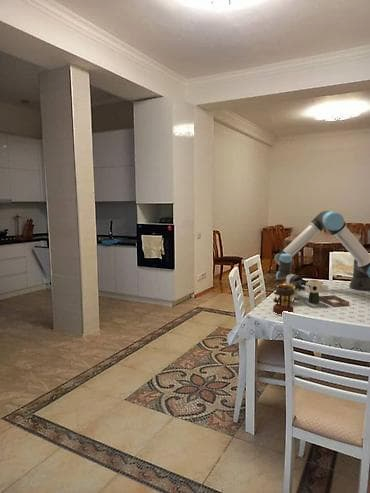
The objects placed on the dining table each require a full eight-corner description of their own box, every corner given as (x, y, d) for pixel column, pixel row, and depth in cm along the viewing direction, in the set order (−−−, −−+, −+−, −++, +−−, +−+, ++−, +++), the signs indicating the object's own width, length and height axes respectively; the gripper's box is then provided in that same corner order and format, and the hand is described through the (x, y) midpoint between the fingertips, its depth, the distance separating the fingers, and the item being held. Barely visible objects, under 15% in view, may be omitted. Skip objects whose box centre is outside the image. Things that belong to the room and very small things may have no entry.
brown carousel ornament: (295, 305, 202) (296, 288, 200) (277, 304, 204) (277, 288, 202) (293, 300, 212) (294, 284, 210) (276, 299, 214) (276, 284, 212)
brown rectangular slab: (333, 298, 216) (333, 295, 216) (349, 305, 202) (349, 301, 202) (318, 299, 214) (318, 295, 214) (332, 306, 200) (332, 302, 200)
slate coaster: (314, 299, 213) (314, 298, 213) (328, 306, 200) (328, 305, 200) (299, 300, 211) (299, 299, 211) (312, 307, 198) (312, 306, 198)
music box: (266, 313, 188) (269, 276, 186) (274, 309, 197) (276, 274, 196) (295, 318, 179) (298, 279, 178) (301, 314, 188) (304, 277, 187)
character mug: (302, 301, 207) (303, 280, 206) (307, 299, 212) (309, 278, 210) (319, 305, 199) (320, 283, 198) (325, 303, 204) (326, 281, 202)
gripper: (309, 285, 226) (334, 293, 206) (278, 288, 217) (301, 297, 197) (310, 273, 225) (335, 280, 205) (278, 276, 216) (301, 284, 196)
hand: (318, 288), depth 201 cm, fingers open, 13 cm apart
